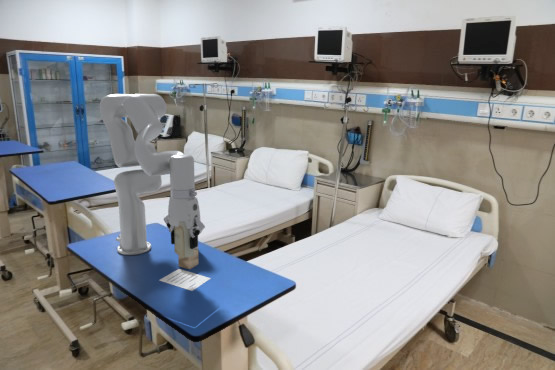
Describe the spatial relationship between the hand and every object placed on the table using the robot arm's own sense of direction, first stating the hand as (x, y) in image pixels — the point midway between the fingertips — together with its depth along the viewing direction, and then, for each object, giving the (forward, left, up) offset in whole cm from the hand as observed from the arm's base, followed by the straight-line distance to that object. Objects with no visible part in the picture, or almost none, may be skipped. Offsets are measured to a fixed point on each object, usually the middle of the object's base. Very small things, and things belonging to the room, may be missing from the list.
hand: (184, 244), depth 130 cm
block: (-6, +9, -13) cm, 17 cm away
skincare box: (0, 0, -3) cm, 3 cm away
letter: (0, 0, -13) cm, 13 cm away
